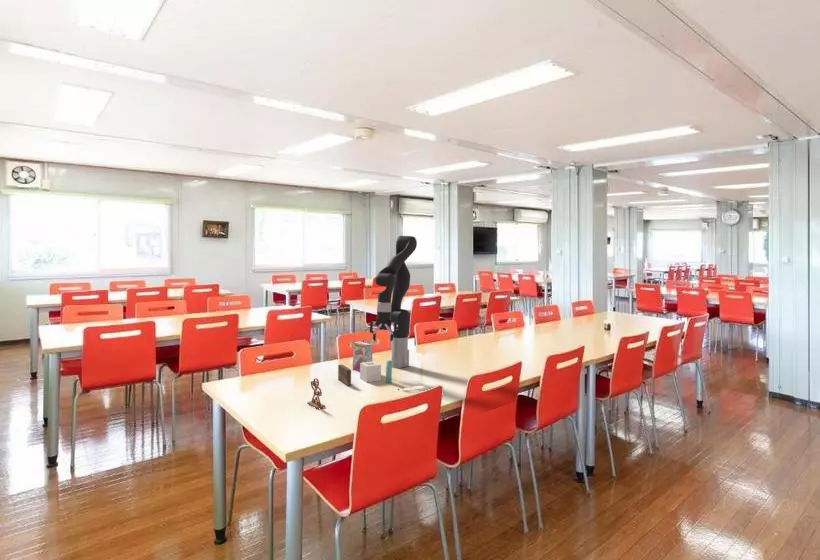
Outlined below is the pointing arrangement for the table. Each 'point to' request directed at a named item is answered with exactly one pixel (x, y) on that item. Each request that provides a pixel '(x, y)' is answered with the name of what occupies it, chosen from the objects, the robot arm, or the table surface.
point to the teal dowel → (388, 371)
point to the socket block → (370, 371)
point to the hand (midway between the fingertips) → (382, 341)
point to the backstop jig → (344, 375)
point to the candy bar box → (361, 354)
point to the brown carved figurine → (314, 401)
